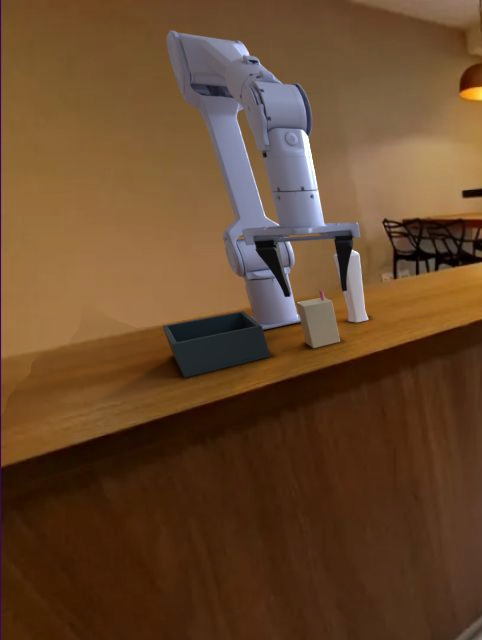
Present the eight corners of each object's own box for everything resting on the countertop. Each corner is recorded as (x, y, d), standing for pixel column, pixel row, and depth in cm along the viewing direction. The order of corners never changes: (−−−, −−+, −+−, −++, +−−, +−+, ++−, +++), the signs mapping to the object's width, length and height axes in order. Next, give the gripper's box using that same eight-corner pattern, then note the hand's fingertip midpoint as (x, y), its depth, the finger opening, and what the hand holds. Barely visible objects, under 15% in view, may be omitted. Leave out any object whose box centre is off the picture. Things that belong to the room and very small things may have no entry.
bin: (173, 356, 69) (162, 325, 67) (251, 339, 76) (243, 311, 73) (184, 377, 61) (172, 344, 59) (270, 356, 68) (261, 325, 66)
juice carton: (305, 343, 73) (293, 292, 70) (332, 336, 76) (322, 287, 72) (313, 348, 71) (301, 296, 67) (340, 341, 74) (330, 291, 70)
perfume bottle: (364, 323, 82) (349, 240, 76) (342, 322, 83) (327, 240, 77) (375, 316, 86) (363, 237, 80) (355, 315, 87) (341, 236, 81)
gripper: (227, 193, 52) (258, 305, 58) (354, 190, 57) (370, 293, 63) (236, 192, 58) (263, 293, 64) (351, 188, 63) (366, 283, 69)
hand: (316, 292), depth 64 cm, fingers open, 7 cm apart
